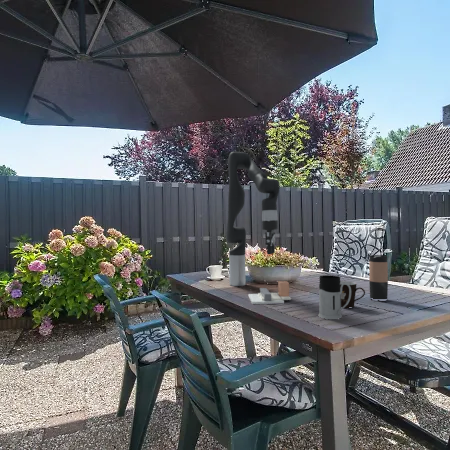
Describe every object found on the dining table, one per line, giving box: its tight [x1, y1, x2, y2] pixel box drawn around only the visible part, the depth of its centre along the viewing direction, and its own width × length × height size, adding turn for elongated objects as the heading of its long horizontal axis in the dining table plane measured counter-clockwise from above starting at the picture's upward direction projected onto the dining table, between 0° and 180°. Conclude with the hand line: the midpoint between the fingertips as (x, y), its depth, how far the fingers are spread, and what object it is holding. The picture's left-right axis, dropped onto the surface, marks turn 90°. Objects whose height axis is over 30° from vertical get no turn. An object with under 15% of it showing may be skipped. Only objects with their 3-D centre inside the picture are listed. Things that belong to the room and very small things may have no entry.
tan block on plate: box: [277, 280, 292, 301], centre depth 156 cm, size 12×4×7 cm, turn 2°
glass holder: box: [317, 274, 351, 320], centre depth 124 cm, size 9×14×15 cm, turn 28°
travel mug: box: [368, 254, 389, 300], centre depth 152 cm, size 8×8×20 cm
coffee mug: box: [340, 280, 366, 309], centre depth 140 cm, size 12×9×10 cm
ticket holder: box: [247, 287, 285, 305], centre depth 155 cm, size 16×14×4 cm
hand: (271, 253), depth 161 cm, fingers open, 8 cm apart
